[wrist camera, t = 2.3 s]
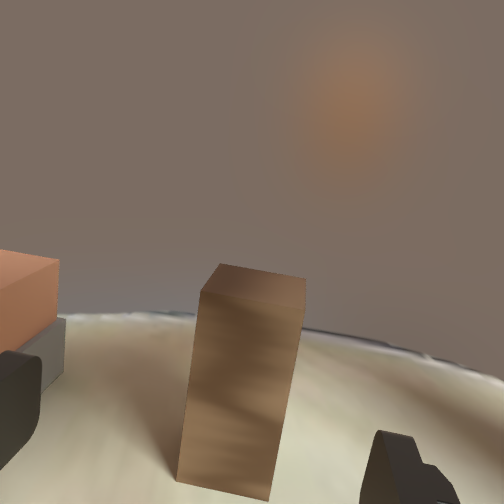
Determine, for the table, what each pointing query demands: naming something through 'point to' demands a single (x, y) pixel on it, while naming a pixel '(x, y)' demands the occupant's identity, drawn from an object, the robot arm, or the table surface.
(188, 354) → the table surface
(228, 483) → the walnut block
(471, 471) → the table surface
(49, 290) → the tower top
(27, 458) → the table surface
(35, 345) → the tower base
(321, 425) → the table surface
